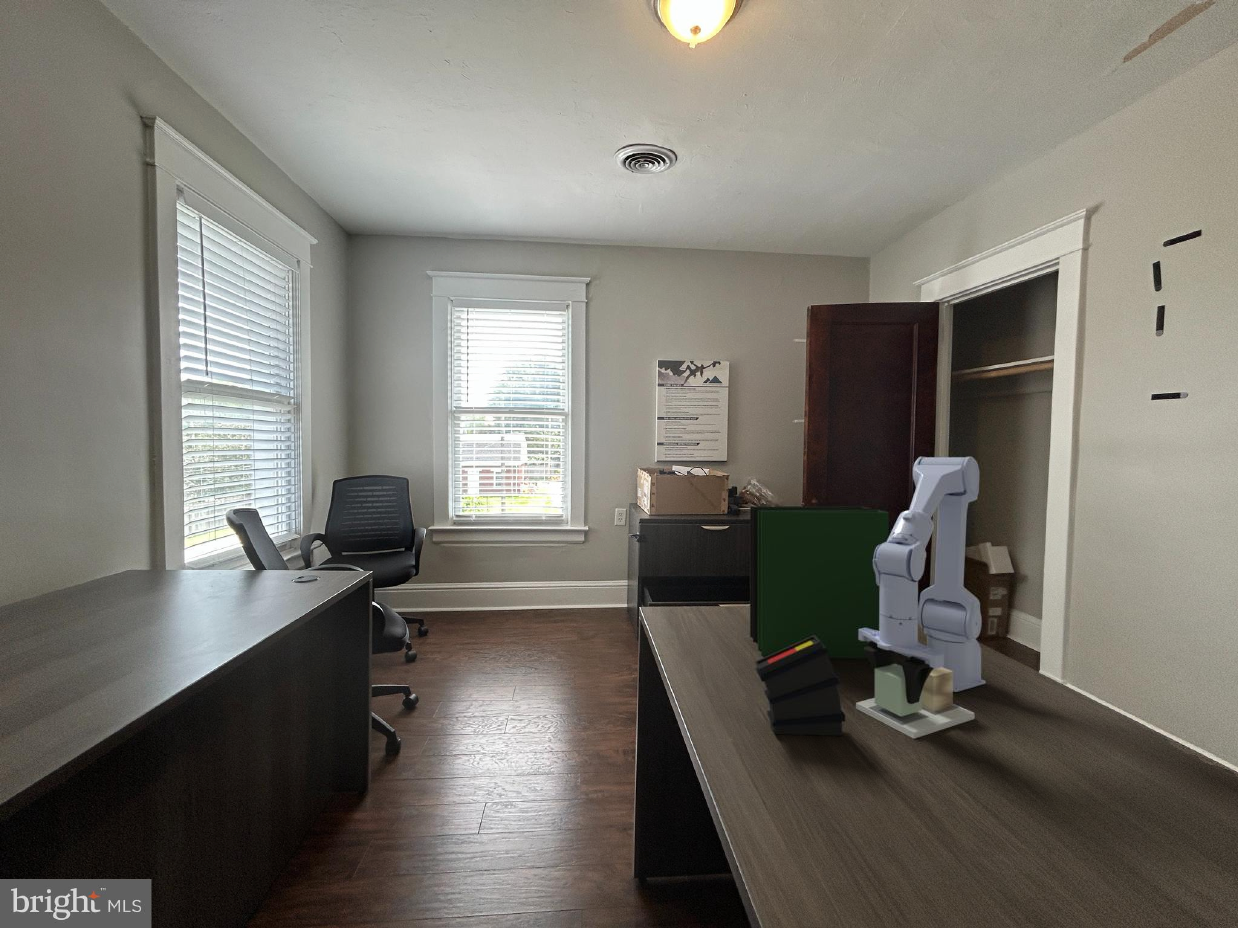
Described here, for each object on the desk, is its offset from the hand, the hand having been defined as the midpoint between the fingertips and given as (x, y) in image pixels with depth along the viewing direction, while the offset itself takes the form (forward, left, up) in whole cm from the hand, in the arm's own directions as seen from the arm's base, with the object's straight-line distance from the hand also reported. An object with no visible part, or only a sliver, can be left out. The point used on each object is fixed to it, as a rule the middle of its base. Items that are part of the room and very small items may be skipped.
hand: (897, 695), depth 89 cm
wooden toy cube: (-8, 0, -3) cm, 8 cm away
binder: (-13, -32, -4) cm, 35 cm away
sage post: (0, 0, -2) cm, 2 cm away
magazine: (+18, -4, -4) cm, 19 cm away
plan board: (-4, 0, -4) cm, 6 cm away
